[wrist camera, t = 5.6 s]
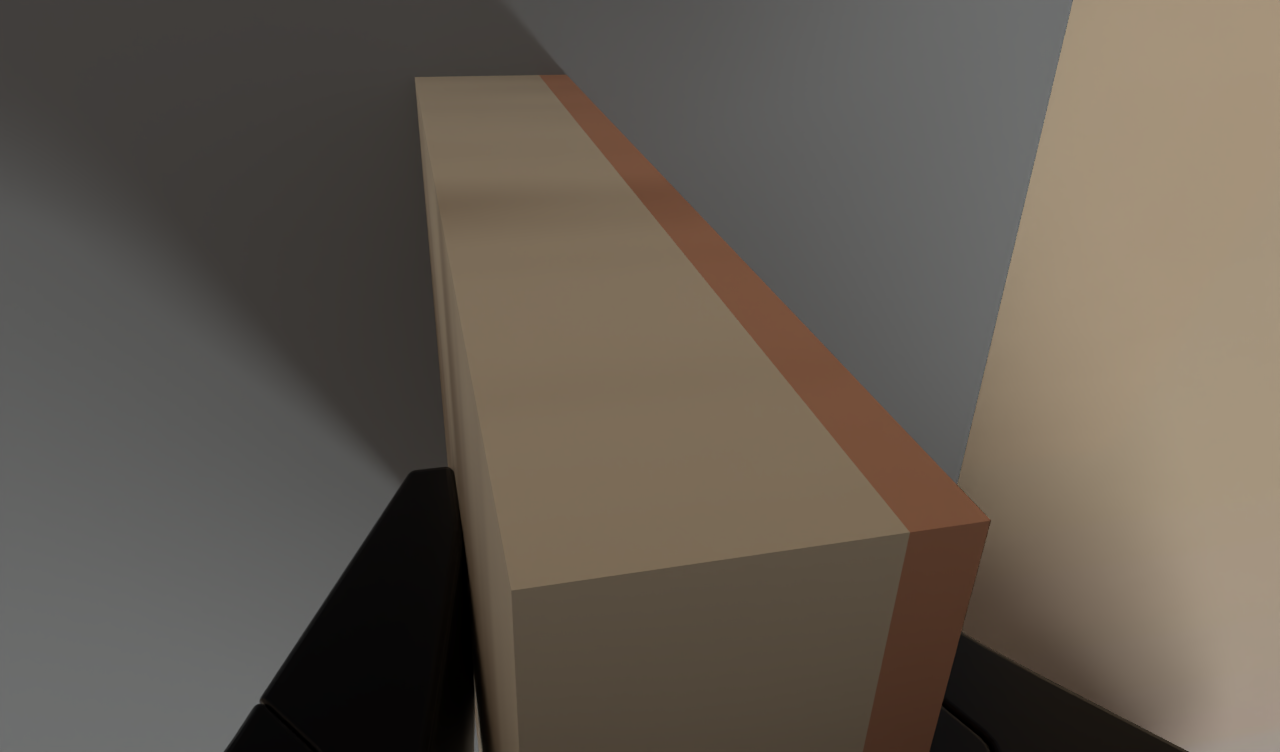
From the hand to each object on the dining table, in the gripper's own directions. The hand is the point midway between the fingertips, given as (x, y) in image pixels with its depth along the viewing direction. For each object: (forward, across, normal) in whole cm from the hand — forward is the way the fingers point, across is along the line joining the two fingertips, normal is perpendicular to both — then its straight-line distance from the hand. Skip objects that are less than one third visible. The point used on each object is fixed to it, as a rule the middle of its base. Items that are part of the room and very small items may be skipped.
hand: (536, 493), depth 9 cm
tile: (+3, 0, -1) cm, 3 cm away
